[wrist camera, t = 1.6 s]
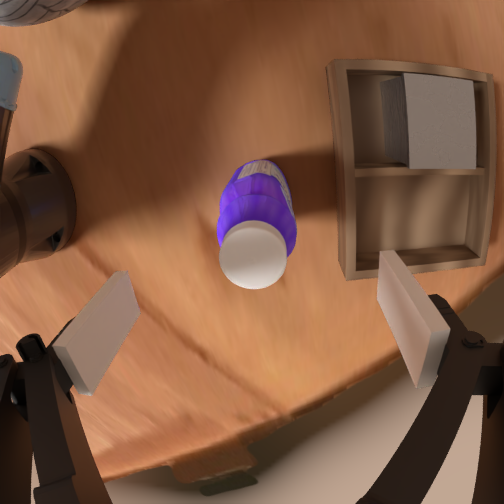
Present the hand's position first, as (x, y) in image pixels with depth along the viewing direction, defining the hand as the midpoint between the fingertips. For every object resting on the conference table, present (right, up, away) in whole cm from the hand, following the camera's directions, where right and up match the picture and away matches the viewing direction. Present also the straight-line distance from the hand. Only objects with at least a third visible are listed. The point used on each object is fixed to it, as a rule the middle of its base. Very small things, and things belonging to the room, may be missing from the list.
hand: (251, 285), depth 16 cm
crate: (+18, +11, +16) cm, 27 cm away
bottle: (+1, +8, +19) cm, 21 cm away
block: (+17, +16, +13) cm, 27 cm away
